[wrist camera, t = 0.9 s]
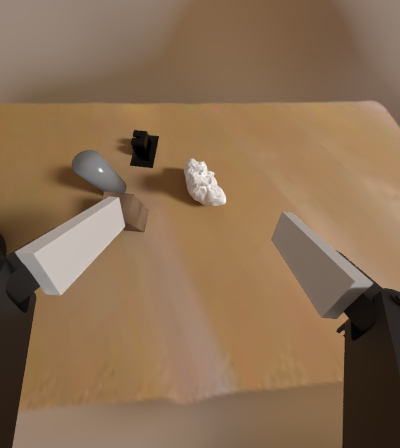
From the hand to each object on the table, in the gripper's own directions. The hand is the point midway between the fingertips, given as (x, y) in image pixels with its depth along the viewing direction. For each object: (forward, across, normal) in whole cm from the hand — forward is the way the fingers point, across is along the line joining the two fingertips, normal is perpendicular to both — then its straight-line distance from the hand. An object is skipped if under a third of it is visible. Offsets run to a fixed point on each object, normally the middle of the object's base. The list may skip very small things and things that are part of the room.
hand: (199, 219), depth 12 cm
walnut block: (+17, -14, -11) cm, 24 cm away
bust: (+22, 0, -5) cm, 23 cm away
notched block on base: (+30, -15, +2) cm, 34 cm away
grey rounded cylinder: (+22, -20, -6) cm, 30 cm away
